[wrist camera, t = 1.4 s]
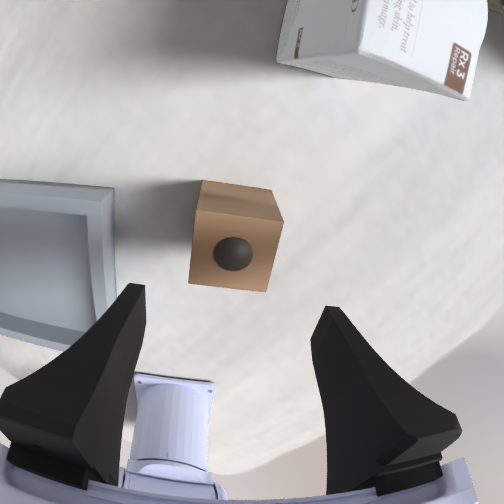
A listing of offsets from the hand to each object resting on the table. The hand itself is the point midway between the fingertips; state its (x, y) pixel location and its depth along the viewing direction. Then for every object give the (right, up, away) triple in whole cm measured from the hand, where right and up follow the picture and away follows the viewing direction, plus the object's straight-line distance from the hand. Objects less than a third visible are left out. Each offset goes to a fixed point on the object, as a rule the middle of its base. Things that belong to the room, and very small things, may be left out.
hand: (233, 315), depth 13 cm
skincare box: (+5, +16, +3) cm, 17 cm away
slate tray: (-16, +2, +9) cm, 19 cm away
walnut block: (-1, +5, +9) cm, 10 cm away
